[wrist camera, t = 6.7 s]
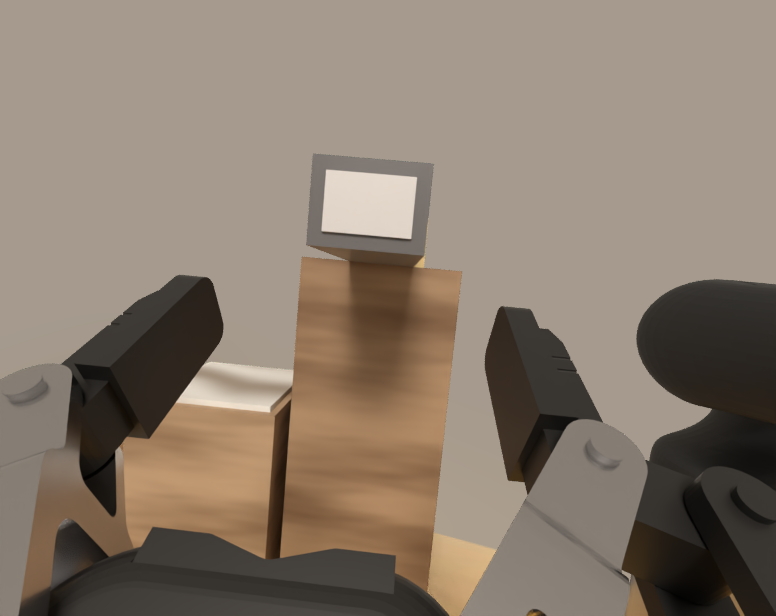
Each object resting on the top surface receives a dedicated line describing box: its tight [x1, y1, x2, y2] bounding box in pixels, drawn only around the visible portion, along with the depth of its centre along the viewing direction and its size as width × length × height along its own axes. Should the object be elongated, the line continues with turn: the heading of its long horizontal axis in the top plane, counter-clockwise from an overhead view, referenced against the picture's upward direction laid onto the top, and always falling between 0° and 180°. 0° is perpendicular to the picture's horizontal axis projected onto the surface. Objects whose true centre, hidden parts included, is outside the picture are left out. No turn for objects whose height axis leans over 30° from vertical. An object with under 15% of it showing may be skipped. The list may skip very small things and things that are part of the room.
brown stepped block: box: [123, 257, 462, 592], centre depth 28 cm, size 10×21×32 cm, turn 87°
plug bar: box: [306, 154, 434, 268], centre depth 23 cm, size 22×6×4 cm, turn 177°
